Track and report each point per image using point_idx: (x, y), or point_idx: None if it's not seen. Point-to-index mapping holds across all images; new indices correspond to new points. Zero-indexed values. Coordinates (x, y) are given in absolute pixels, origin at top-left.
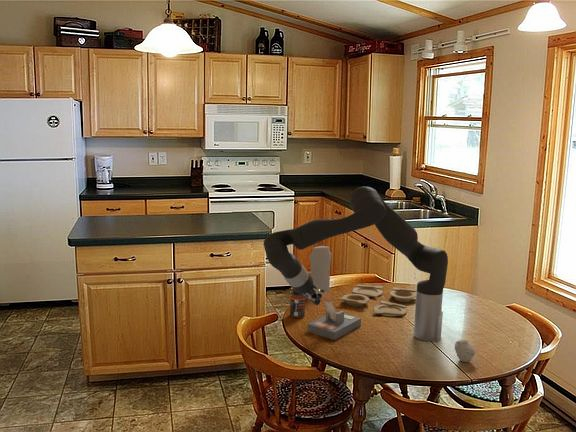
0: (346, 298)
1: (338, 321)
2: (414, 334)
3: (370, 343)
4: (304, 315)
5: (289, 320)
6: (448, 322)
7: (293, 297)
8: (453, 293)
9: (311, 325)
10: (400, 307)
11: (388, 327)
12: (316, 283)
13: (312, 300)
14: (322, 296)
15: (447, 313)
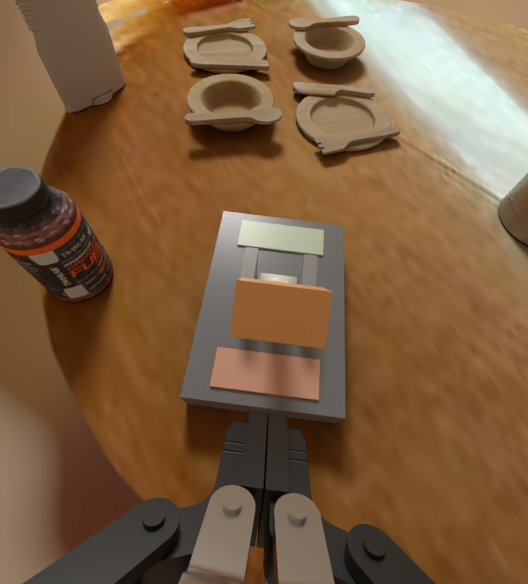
0: (204, 107)
1: None
2: (523, 235)
3: (460, 367)
4: (112, 266)
5: (64, 334)
6: (500, 123)
7: (12, 247)
8: (394, 6)
9: (204, 400)
10: (359, 97)
11: (411, 215)
12: (71, 63)
13: (253, 537)
14: (264, 332)
15: (459, 84)
